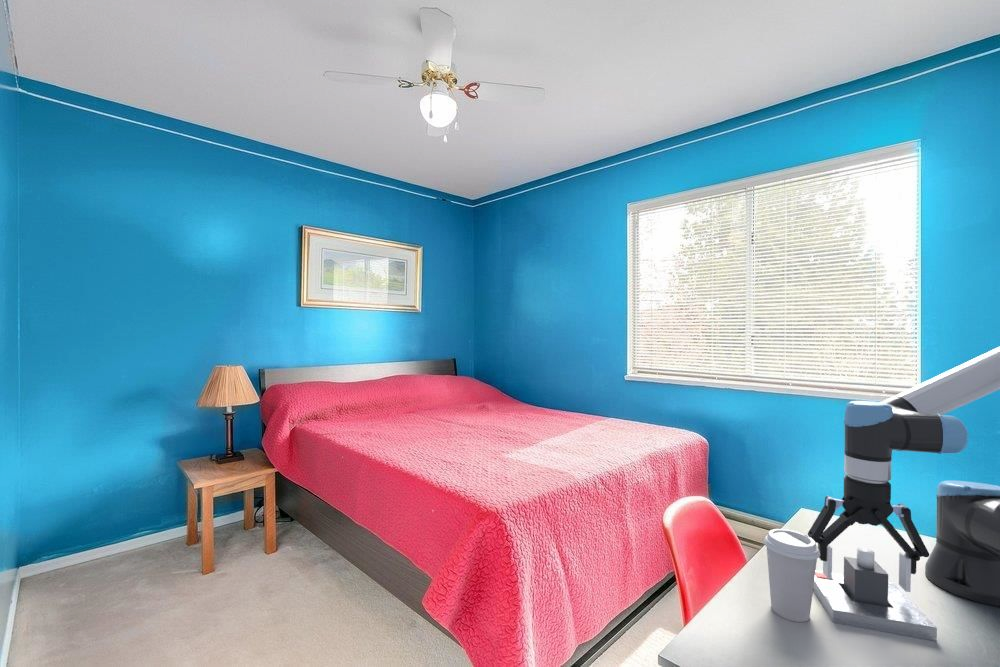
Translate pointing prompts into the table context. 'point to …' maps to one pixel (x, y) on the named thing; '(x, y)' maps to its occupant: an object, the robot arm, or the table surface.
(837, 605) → the socket plate
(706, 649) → the table surface
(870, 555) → the plug
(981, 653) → the table surface
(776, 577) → the coffee cup
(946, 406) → the robot arm
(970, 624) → the table surface
